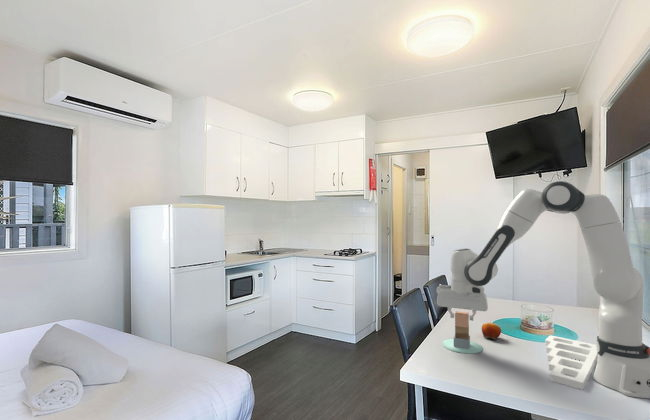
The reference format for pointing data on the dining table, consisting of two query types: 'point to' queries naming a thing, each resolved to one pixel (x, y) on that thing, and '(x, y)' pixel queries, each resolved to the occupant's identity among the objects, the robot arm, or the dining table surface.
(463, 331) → the walnut block
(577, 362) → the trivet
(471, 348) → the mint green round disc
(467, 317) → the terracotta block
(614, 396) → the dining table surface
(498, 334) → the fruit
